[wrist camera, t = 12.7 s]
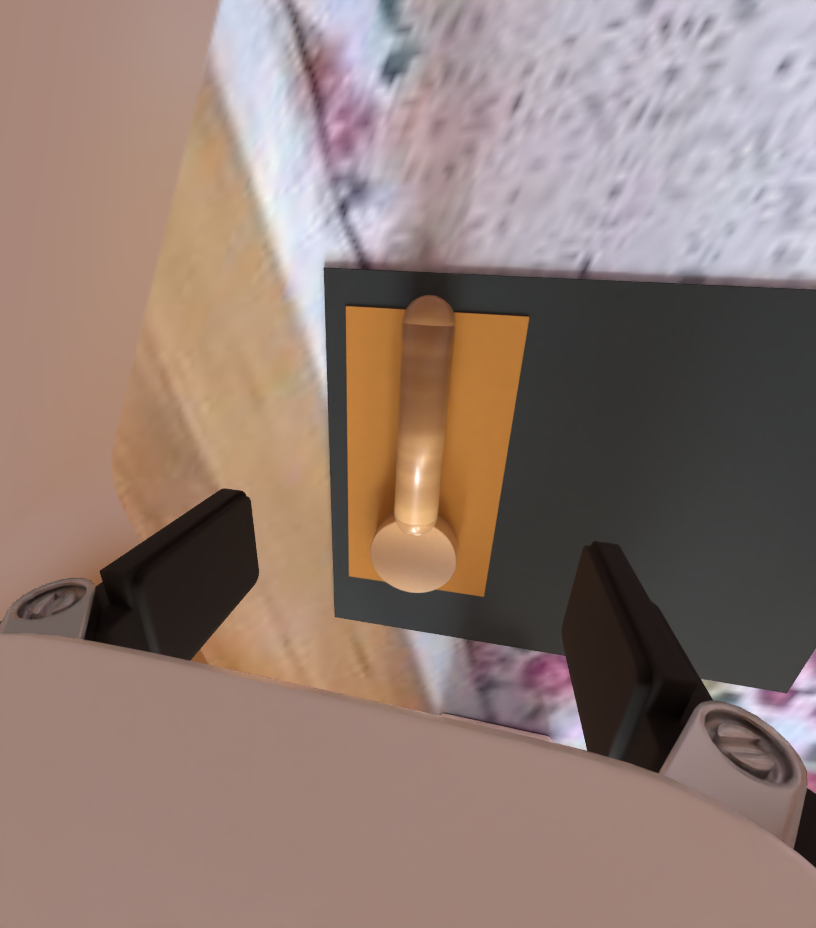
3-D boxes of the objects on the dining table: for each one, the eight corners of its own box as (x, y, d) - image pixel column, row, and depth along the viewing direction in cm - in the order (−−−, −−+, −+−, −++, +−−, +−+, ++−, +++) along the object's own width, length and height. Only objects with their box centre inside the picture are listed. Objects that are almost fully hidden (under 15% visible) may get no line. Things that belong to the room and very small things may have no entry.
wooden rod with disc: (381, 292, 17) (368, 291, 15) (488, 298, 16) (489, 297, 14) (375, 570, 23) (365, 596, 21) (453, 582, 22) (451, 610, 20)
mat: (1030, 299, 14) (1041, 299, 13) (784, 690, 21) (788, 694, 21) (325, 268, 17) (323, 267, 17) (335, 614, 25) (334, 617, 25)
